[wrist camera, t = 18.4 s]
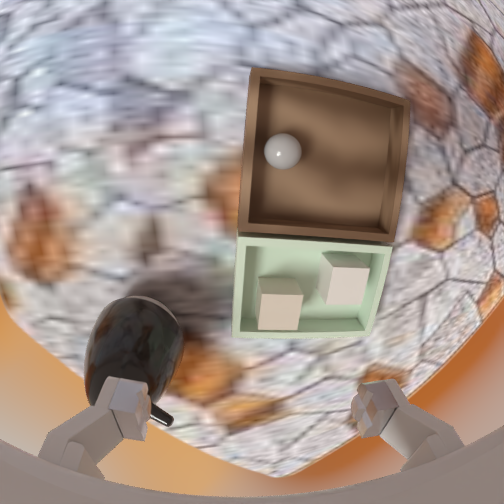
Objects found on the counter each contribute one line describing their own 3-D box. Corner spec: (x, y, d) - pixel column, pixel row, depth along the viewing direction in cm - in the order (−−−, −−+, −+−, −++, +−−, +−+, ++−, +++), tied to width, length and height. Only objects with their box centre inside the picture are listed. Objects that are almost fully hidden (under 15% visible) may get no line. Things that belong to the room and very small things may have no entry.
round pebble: (263, 132, 26) (268, 129, 23) (298, 136, 27) (307, 134, 23) (260, 167, 27) (264, 168, 24) (295, 170, 28) (303, 172, 25)
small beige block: (321, 253, 31) (333, 267, 27) (354, 255, 31) (369, 268, 27) (315, 287, 32) (325, 304, 28) (348, 288, 32) (361, 304, 29)
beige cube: (258, 276, 31) (261, 293, 27) (294, 278, 31) (303, 295, 28) (254, 309, 32) (257, 329, 29) (290, 310, 33) (297, 329, 29)
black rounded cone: (182, 362, 35) (166, 460, 21) (107, 341, 34) (63, 427, 19) (198, 296, 32) (179, 395, 18) (111, 272, 31) (46, 351, 16)
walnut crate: (249, 77, 25) (251, 67, 22) (393, 104, 27) (410, 100, 23) (237, 222, 30) (238, 231, 27) (378, 233, 31) (393, 242, 28)
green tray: (237, 227, 30) (238, 236, 27) (378, 237, 31) (392, 247, 28) (231, 320, 34) (231, 337, 30) (358, 320, 35) (369, 335, 32)
